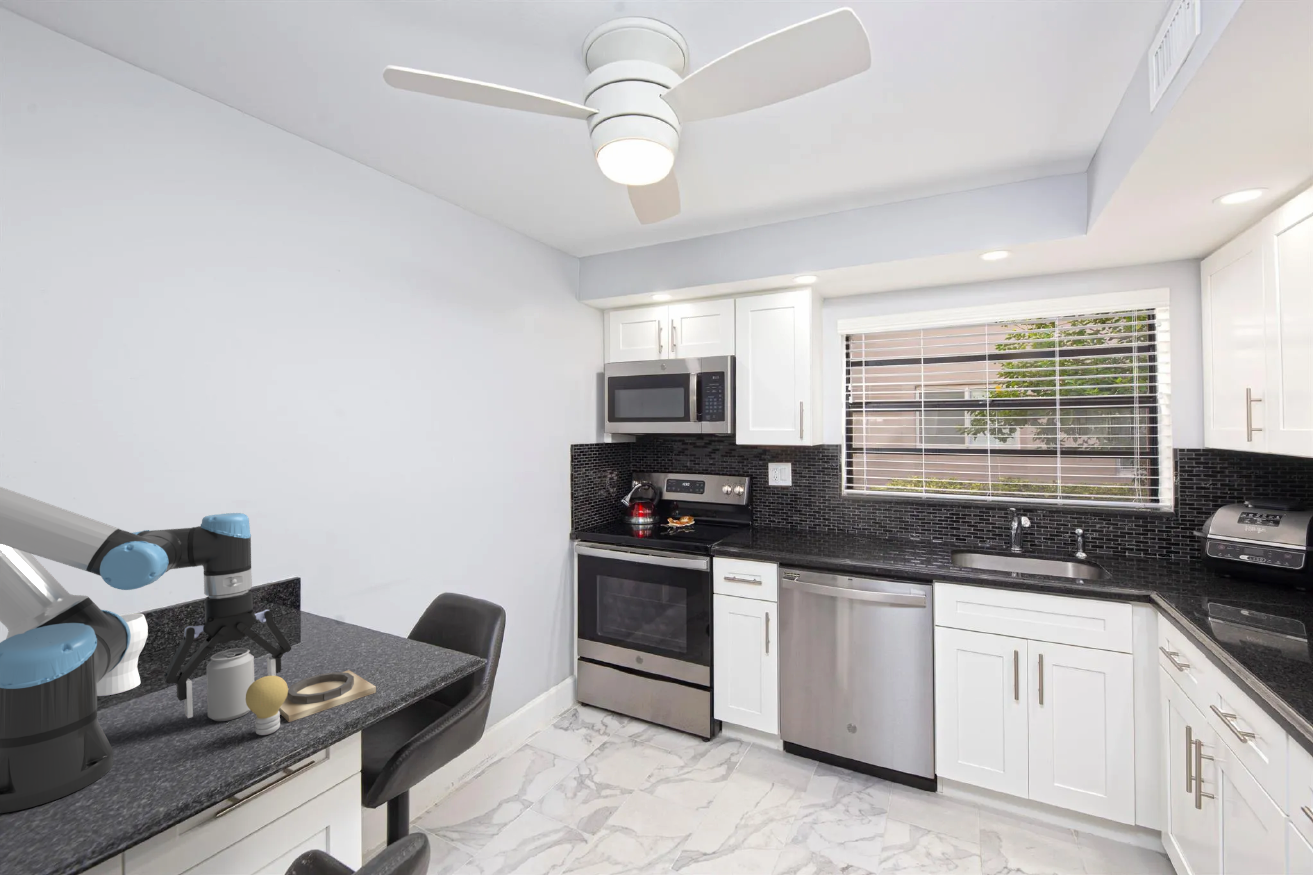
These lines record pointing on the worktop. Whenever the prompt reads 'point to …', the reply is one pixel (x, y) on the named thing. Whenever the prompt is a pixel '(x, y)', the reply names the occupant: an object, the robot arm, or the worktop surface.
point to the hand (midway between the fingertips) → (232, 702)
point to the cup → (126, 659)
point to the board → (321, 706)
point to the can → (229, 683)
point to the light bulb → (266, 702)
